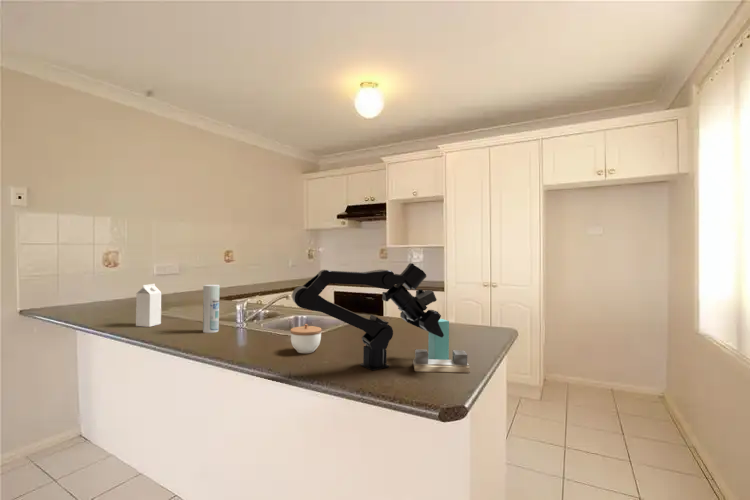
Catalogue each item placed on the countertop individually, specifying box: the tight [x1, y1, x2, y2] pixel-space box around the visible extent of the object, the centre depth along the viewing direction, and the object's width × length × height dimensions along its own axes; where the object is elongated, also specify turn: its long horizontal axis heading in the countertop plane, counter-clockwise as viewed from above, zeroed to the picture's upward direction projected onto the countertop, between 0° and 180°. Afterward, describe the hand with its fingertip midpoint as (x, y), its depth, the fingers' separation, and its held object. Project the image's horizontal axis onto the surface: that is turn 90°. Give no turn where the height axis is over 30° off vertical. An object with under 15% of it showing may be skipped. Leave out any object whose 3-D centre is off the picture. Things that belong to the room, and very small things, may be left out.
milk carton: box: [135, 283, 162, 328], centre depth 171 cm, size 7×7×19 cm
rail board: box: [412, 348, 471, 374], centre depth 112 cm, size 16×7×5 cm, turn 87°
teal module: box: [427, 318, 450, 360], centre depth 120 cm, size 5×4×13 cm
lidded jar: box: [290, 323, 322, 354], centre depth 130 cm, size 11×11×9 cm
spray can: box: [202, 284, 221, 334], centre depth 160 cm, size 6×6×20 cm
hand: (435, 333), depth 120 cm, fingers open, 9 cm apart
